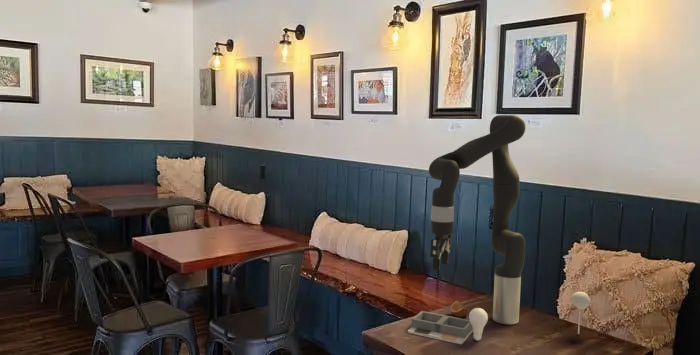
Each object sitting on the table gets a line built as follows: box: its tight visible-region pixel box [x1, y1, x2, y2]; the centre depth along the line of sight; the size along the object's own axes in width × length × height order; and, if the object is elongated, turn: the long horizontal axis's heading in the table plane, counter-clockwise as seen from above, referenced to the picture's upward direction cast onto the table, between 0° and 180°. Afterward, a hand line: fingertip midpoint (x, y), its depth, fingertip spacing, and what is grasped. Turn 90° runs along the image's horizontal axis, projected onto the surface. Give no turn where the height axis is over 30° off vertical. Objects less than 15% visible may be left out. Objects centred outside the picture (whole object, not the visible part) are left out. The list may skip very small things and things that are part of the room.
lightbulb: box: [468, 307, 489, 342], centre depth 181 cm, size 6×6×11 cm
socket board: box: [407, 310, 473, 345], centre depth 188 cm, size 13×19×4 cm
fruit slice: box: [449, 299, 470, 318], centre depth 203 cm, size 8×7×5 cm
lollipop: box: [570, 291, 591, 335], centre depth 188 cm, size 6×6×15 cm
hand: (440, 266), depth 182 cm, fingers open, 8 cm apart
